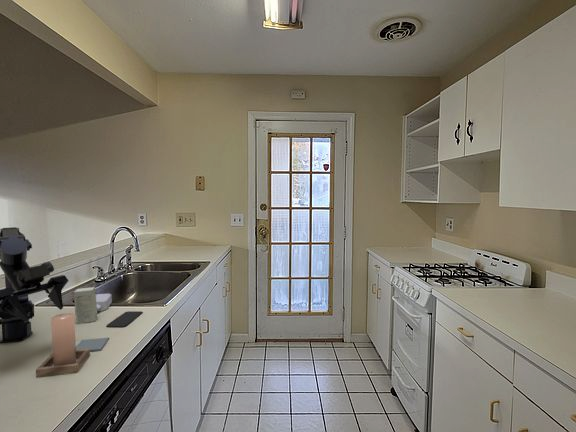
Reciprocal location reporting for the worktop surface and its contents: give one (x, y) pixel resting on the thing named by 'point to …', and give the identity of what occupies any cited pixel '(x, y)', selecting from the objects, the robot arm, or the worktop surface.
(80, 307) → the skincare box
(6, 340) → the robot arm
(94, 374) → the worktop surface
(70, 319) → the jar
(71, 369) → the holder
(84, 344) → the mat
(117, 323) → the phone
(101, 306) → the charger
